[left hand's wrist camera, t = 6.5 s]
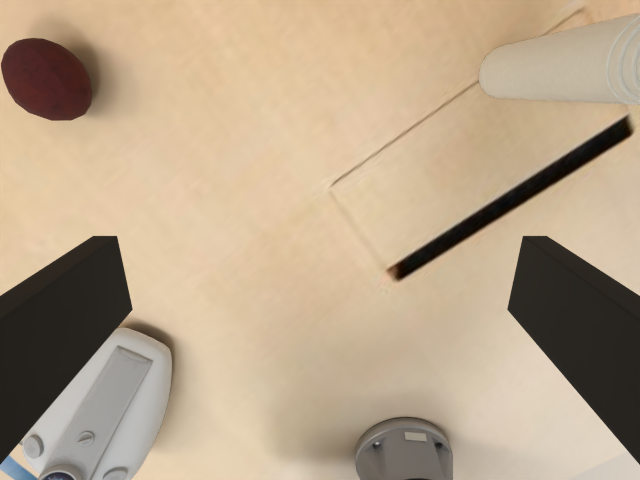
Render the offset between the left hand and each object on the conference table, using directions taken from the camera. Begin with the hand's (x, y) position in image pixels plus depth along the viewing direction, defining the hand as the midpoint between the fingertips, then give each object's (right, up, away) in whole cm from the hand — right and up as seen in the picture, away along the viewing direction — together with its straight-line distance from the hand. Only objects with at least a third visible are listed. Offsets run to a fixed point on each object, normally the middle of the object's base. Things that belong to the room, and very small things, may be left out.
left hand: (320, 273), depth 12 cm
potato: (-27, +18, +29) cm, 43 cm away
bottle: (+20, +19, +28) cm, 39 cm away
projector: (-30, -20, +44) cm, 57 cm away
